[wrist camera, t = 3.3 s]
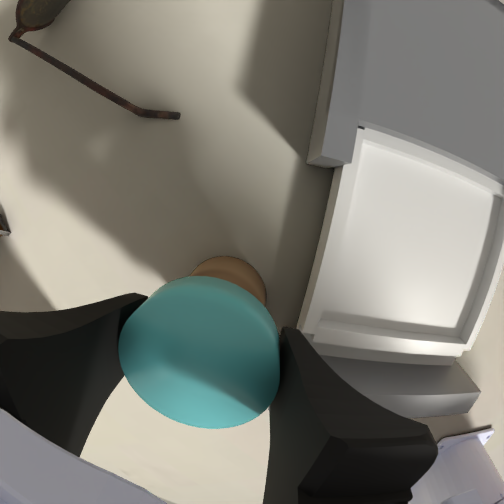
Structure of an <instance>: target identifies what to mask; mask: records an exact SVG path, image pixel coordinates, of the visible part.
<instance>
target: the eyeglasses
mask: <svg viewBox="0 0 504 504" xmlns="http://www.w3.org/2000/svg"><path fill="white" fill-rule="evenodd" d="M69 1H70V0H19V1H18V4H17V8H16V22H17V27H16V28H15V29H14V31H13V32H12V33H11V35H10V36H9V38H8V40H9V41H10V42H14V43H16V44H18V45H19V46H21V47H23V48H25V49H26V50H28V51H30V52H31V53H33V54H35V55H36V56H38V57H40V58H42V59H43V60H45V61H47V62H48V63H50V64H52V65H53V66H55V67H57V68H58V69H60V70H61V71H63V72H65V73H66V74H68V75H70V76H71V77H73V78H74V79H76V80H78V81H79V82H81V83H82V84H84V85H86V86H87V87H89V88H91V89H92V90H94V91H96V92H97V93H99V94H101V95H102V96H104V97H106V98H108V99H109V100H111V101H113V102H115V103H116V104H118V105H120V106H122V107H123V108H125V109H127V110H129V111H131V112H133V113H134V114H136V115H138V116H140V117H146V118H162V119H177V120H178V119H179V118H180V113H177V112H167V111H155V110H146V109H141V108H139V107H137V106H135V105H133V104H131V103H130V102H128V101H127V100H125V99H123V98H121V97H120V96H118V95H116V94H114V93H113V92H111V91H109V90H108V89H106V88H104V87H102V86H101V85H99V84H97V83H96V82H94V81H92V80H91V79H89V78H87V77H86V76H84V75H82V74H81V73H79V72H77V71H76V70H74V69H72V68H71V67H69V66H67V65H66V64H64V63H62V62H61V61H59V60H57V59H55V58H54V57H52V56H50V55H48V54H47V53H45V52H43V51H41V50H40V49H38V48H36V47H34V46H32V45H31V44H29V43H27V42H25V41H23V40H21V39H19V38H20V37H21V36H22V35H23V34H24V33H25V32H28V31H36V30H40V29H43V28H45V27H47V26H49V25H50V24H51V23H52V22H53V20H54V19H55V17H56V16H57V15H58V14H59V13H60V11H61V10H62V9H63V8H64V7H65V6H66V5H67V3H68V2H69Z"/></svg>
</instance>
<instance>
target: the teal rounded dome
mask: <svg viewBox="0 0 504 504" xmlns="http://www.w3.org/2000/svg"><path fill="white" fill-rule="evenodd" d="M118 352H119V360H120V363H121V367H122V370H123V372H124V375H125V377H126V378H127V380H128V382H129V384H130V385H131V386H132V388H133V389H134V391H135V392H136V393H137V394H138V395H139V396H140V397H141V398H142V399H143V400H144V401H145V402H146V403H147V404H148V405H149V406H151V407H152V408H153V409H155V410H156V411H158V412H159V413H161V414H163V415H164V416H166V417H168V418H170V419H172V420H175V421H177V422H180V423H183V424H186V425H190V426H194V427H199V428H208V429H220V428H229V427H234V426H238V425H241V424H244V423H246V422H249V421H251V420H253V419H254V418H256V417H258V416H259V415H260V414H262V413H263V412H264V411H265V410H266V409H267V408H268V407H269V406H270V404H271V403H272V401H273V400H274V398H275V396H276V393H277V391H278V387H279V381H280V342H279V335H278V331H277V327H276V325H275V323H274V320H273V318H272V317H271V315H270V314H269V312H268V310H267V309H266V308H265V307H264V306H263V304H262V303H261V302H260V301H259V300H258V299H257V298H256V297H254V296H253V295H252V294H251V293H249V292H248V291H246V290H245V289H243V288H241V287H239V286H238V285H236V284H233V283H231V282H229V281H226V280H222V279H219V278H215V277H208V276H190V277H183V278H179V279H176V280H173V281H171V282H168V283H167V284H165V285H163V286H162V287H160V288H159V289H158V290H157V291H155V292H154V293H153V294H152V295H151V296H150V297H149V298H148V299H147V300H146V301H145V302H144V303H143V304H142V305H141V306H140V307H139V308H138V309H137V310H136V311H135V312H134V313H133V314H132V315H131V316H130V317H129V318H128V320H127V321H126V323H125V324H124V326H123V328H122V331H121V334H120V338H119V344H118Z"/></svg>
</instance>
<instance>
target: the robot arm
mask: <svg viewBox="0 0 504 504" xmlns="http://www.w3.org/2000/svg"><path fill="white" fill-rule="evenodd" d="M147 299H148V296H145V295H141V294H137V293H129V294H125V295H121V296H117V297H114V298H110V299H107V300H103V301H100V302H96V303H92V304H88V305H84V306H80V307H76V308H71V309H65V310H58V311H50V312H29V313H22V312H6V311H0V504H167V503H166V502H164V501H163V500H161V499H160V498H158V497H157V496H155V495H153V494H152V493H150V492H149V491H147V490H146V489H145V488H143V487H140V486H138V485H136V484H134V483H132V482H130V481H128V480H126V479H124V478H122V477H120V476H118V475H116V474H114V473H112V472H109V471H107V470H105V469H102V468H100V467H98V466H96V465H94V464H92V463H90V462H87V461H85V460H83V459H81V458H79V457H80V455H81V452H82V450H83V447H84V445H85V442H86V440H87V438H88V435H89V433H90V431H91V429H92V427H93V425H94V423H95V421H96V419H97V417H98V415H99V413H100V411H101V409H102V407H103V405H104V404H105V402H106V400H107V399H108V397H109V396H110V394H111V393H112V391H113V390H114V389H115V387H116V386H117V385H118V383H119V382H120V381H121V379H122V378H123V377H124V372H123V370H122V367H121V363H120V360H119V352H118V344H119V338H120V334H121V331H122V328H123V326H124V324H125V323H126V321H127V320H128V318H129V317H130V316H131V315H132V314H133V313H134V312H135V311H136V310H137V309H138V308H139V307H140V306H141V305H142V304H143V303H144V302H145V301H146V300H147ZM279 342H280V381H279V387H278V391H277V393H276V396H275V398H274V400H273V401H272V403H271V404H270V406H269V411H270V451H269V460H268V469H267V477H266V485H265V492H264V499H263V504H504V482H503V480H502V478H501V476H500V474H499V472H498V471H497V469H496V467H495V465H494V463H493V462H492V460H491V458H490V456H489V455H488V453H487V451H486V450H485V448H484V446H483V445H484V444H485V443H486V442H487V440H488V439H489V438H490V437H491V435H492V434H493V433H494V431H495V430H494V429H493V428H490V429H486V430H482V431H477V432H473V433H468V434H463V435H458V436H452V437H446V438H443V439H442V440H441V441H440V442H439V443H438V444H436V442H435V440H434V438H433V436H432V434H431V432H430V430H429V428H428V426H427V425H425V424H422V423H419V422H416V421H414V420H411V419H408V418H405V417H403V416H400V415H398V414H396V413H394V412H392V411H390V410H388V409H386V408H384V407H382V406H380V405H379V404H377V403H375V402H373V401H372V400H370V399H369V398H367V397H366V396H364V395H363V394H361V393H360V392H358V391H357V390H356V389H354V388H353V387H352V386H350V385H349V384H348V383H347V382H346V381H344V380H343V379H342V378H341V377H340V376H339V375H338V374H336V373H335V372H334V371H333V369H332V368H331V367H330V366H329V365H328V364H327V363H326V362H325V361H324V360H323V359H322V358H321V357H320V355H319V354H318V353H317V352H316V351H315V349H314V348H313V347H312V346H311V344H310V343H309V342H308V340H307V339H306V338H305V336H304V335H303V334H302V333H301V331H300V330H299V329H293V328H288V327H283V329H282V332H281V336H280V340H279Z"/></svg>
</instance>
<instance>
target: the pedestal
mask: <svg viewBox="0 0 504 504" xmlns="http://www.w3.org/2000/svg"><path fill="white" fill-rule="evenodd" d="M190 276H208V277H215V278H219V279H222V280H226V281H229V282H231V283H233V284H236V285H238V286H239V287H241V288H243V289H245V290H246V291H248V292H249V293H251V294H252V295H253V296H254V297H256V298H257V299H258V300H259V301H260V302H261V303H262V304H263V306H264V307H265V303H266V290H265V286H264V283H263V280H262V278H261V277H260V275H259V274H258V272H257V271H256V270H255V269H254V268H253V267H252V266H251V265H249V264H248V263H246V262H244V261H243V260H240V259H238V258H234V257H228V256H220V257H214V258H211V259H208V260H206V261H204V262H203V263H201V264H200V265H199V266H198V267H197V268H196V269H195V270H194V271H193V272H192V273H191V275H190ZM190 276H189V277H190Z"/></svg>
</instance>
